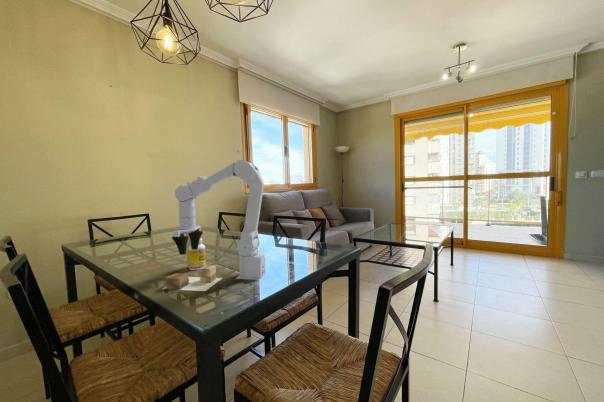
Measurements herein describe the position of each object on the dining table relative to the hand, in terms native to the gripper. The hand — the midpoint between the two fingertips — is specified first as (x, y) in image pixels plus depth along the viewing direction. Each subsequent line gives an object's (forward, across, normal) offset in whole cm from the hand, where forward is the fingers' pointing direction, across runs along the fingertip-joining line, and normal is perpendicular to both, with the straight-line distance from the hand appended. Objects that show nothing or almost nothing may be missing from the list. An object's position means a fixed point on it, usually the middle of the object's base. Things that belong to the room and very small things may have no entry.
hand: (189, 251), depth 97 cm
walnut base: (+9, +11, +3) cm, 15 cm away
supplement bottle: (+10, -9, -2) cm, 14 cm away
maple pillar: (+9, +5, +11) cm, 15 cm away
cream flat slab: (+10, +8, +7) cm, 14 cm away
